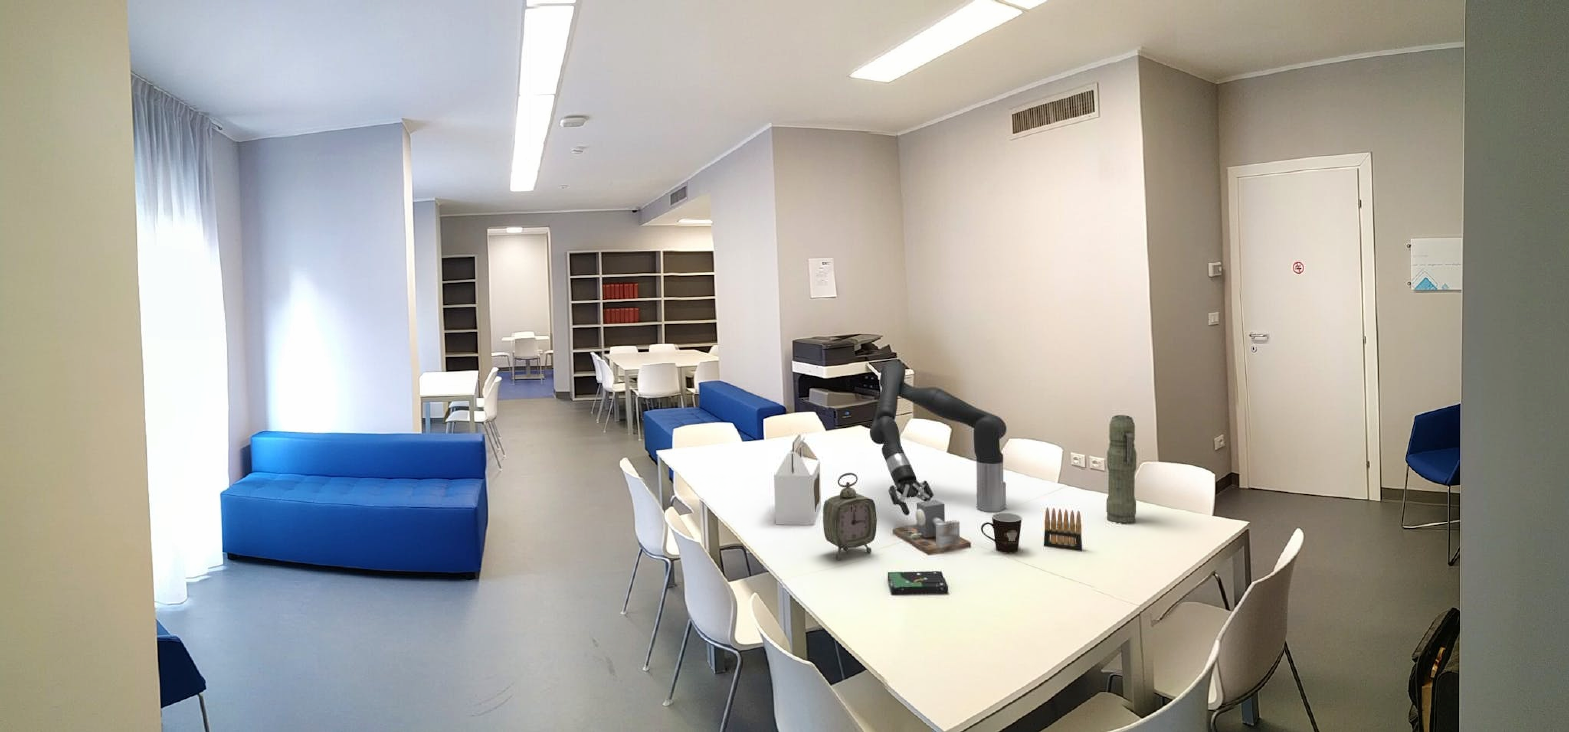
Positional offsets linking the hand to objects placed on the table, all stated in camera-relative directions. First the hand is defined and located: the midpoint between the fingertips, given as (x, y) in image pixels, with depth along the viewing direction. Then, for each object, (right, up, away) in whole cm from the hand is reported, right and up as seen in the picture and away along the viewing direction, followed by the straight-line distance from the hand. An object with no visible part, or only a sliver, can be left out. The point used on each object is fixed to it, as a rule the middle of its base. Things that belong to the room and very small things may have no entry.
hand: (919, 512), depth 233 cm
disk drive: (-8, -12, -40) cm, 43 cm away
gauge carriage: (+1, -6, -8) cm, 10 cm away
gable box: (-38, -6, +25) cm, 46 cm away
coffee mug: (+22, -8, -15) cm, 28 cm away
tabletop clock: (-24, -10, -15) cm, 30 cm away
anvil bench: (+3, -8, -5) cm, 10 cm away
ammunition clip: (+40, -8, -16) cm, 44 cm away
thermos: (+69, -4, +8) cm, 69 cm away
